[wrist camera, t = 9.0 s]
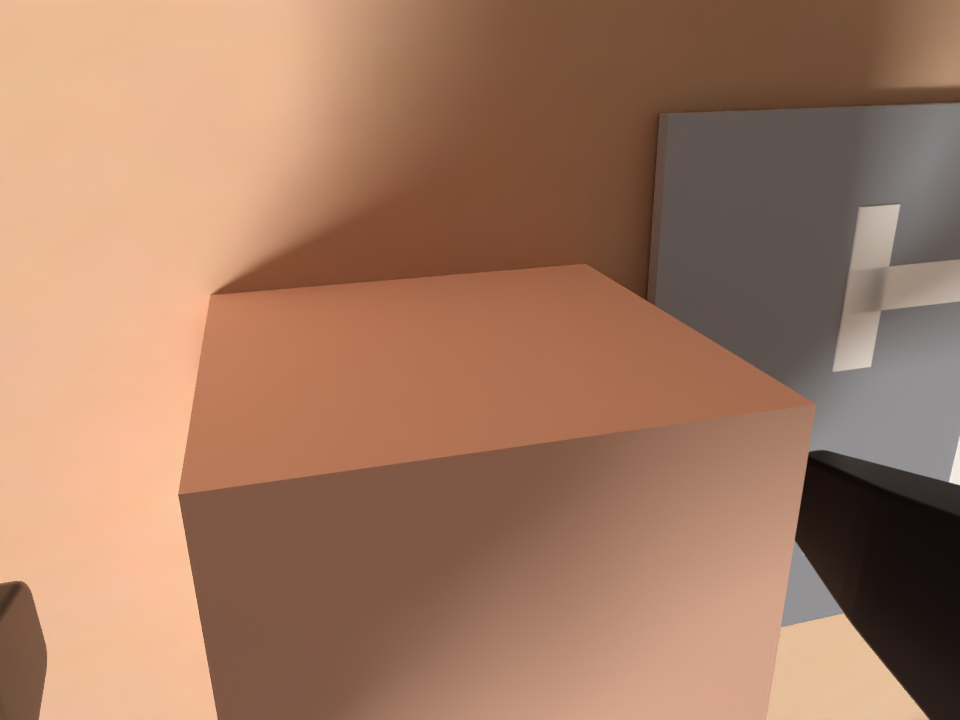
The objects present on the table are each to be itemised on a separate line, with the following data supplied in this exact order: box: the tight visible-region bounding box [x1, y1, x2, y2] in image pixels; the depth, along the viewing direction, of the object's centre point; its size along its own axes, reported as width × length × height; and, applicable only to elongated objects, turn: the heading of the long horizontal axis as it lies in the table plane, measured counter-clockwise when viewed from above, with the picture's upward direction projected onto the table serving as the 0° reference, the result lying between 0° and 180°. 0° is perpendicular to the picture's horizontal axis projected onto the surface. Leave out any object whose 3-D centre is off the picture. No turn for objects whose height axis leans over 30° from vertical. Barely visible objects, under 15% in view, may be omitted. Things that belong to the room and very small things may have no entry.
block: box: [178, 264, 816, 720], centre depth 9 cm, size 5×5×5 cm
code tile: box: [647, 102, 960, 627], centre depth 13 cm, size 9×10×1 cm
